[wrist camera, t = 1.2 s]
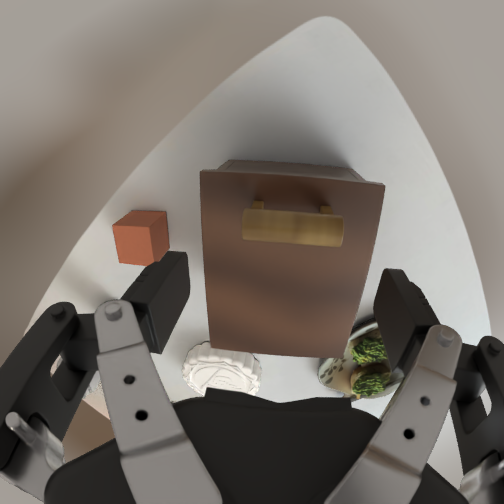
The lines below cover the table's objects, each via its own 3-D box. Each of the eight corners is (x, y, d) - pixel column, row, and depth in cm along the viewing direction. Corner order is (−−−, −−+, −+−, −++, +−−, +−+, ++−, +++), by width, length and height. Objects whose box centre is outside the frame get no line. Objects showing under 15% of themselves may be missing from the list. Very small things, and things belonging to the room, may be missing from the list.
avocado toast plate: (368, 406, 44) (371, 426, 40) (291, 379, 42) (290, 403, 38) (448, 342, 36) (458, 363, 32) (378, 297, 33) (387, 321, 29)
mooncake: (238, 396, 46) (235, 413, 43) (176, 367, 44) (169, 383, 41) (277, 363, 40) (275, 382, 37) (205, 327, 39) (199, 345, 35)
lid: (202, 169, 19) (175, 188, 15) (382, 183, 18) (410, 206, 14) (212, 342, 27) (199, 383, 22) (341, 352, 26) (347, 395, 21)
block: (131, 210, 32) (112, 225, 28) (166, 211, 31) (149, 227, 27) (136, 245, 34) (119, 263, 30) (169, 247, 33) (154, 266, 29)
